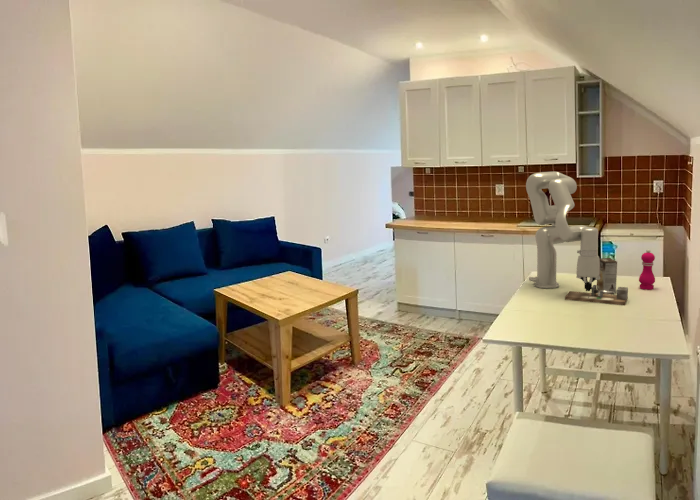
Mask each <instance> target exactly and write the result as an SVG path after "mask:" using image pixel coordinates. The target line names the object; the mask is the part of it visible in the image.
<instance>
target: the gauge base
mask: <svg viewBox="0 0 700 500" xmlns="http://www.w3.org/2000/svg"><path fill="white" fill-rule="evenodd" d="M628 292H629V288H628V286H627V287H625V286H618V287H617V288H616V294H614V295H611V294H603V297H601V298H600V296H598V293H596V294H595V295H594V296H591V292H587V291H584V292H583V291H572V290H569V291H568V293H566V295H565V297H564V300H566V301H574V302H575V301H577V302H585V303H586V302H587V303H597V304H598V303H599V304H606V305H607V304H608V305H619V306H626V304H627V301H628V300H629V295H628Z"/></svg>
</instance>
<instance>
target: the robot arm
mask: <svg viewBox="0 0 700 500" xmlns="http://www.w3.org/2000/svg"><path fill="white" fill-rule="evenodd" d="M577 188H578V187H577V182H576V180H575V179H574V178H573V177H570V176H568V175H566V174H563V173H562V172H559V171H541V172H540V171H539V172H535V173H532V174H531V175H529V176H528V177H527V179H526V183H525V189H526V193H527V194H528V195H527V196H528V198H529V200H530V205H531V209H532V213H533V217H534V218H533V219H534V221H535V223H536V224H537V225H539V226H540V225H541V226H543V227H540V228H538V230H536V232H535V234H534V235H535V241H536V250H537V252H536V253H537V255H536V257H537V258H536V259H537V260H536V261H537V264H536V265H537V266H536V269H537V270H536V271H537V272H536V275H537V276H535V277H534V276H529V278H528V281H530V282H534V283H533V286H534V287H536V288H541V289H556V288H559V286H560V283H559V282H557V256H558V255H557V249H556V248H555V247H554V245H557V244H563V243H571V242H572V243H574V242H580V249H578V250H577V251H576V253H577V254H579V255H578V257H577V262H576V263H577V264H576V271H575V273H576V278H577V279H580V280H581V281H582V282H583V283H584V290H585V292H590V291H591V290H592V286H593V285H592V283H594V282H595V281H597V280H600V279H601V277H600V260H599V259H600V256H599V255H598V247H599V239H598V238H599V230H598V228H597V227H591V226H590V227H589V226H587V225H582V224H580V225H573V226H572V225H570V226H569V224H568V221H567V214H568V212H570V211H571V210H572V209H574V208H575V202H574V200H573V197H572V194H574V193H575V192H576V191H577ZM542 189H548V192H549V194H550V196H551V198H552V201H553V203H554V204H553V205H550V203H549V199H548V196H547V195H546V194H545V192H544V191H543V190H542ZM544 225H549V226H544ZM588 278H589V281H588Z"/></svg>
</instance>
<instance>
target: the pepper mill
mask: <svg viewBox="0 0 700 500" xmlns="http://www.w3.org/2000/svg"><path fill="white" fill-rule="evenodd" d="M640 257H641V261H642V262H641V265H642V271H641V274H640V275H639V277H638V282H639V289H641V290H644V291H652V290H654V288H655V287H654V286H655V285H654V284H655V283H656V276H655V275H654V273H653V266H654V261H655V259H656V256H655V254H654V253H652V252H651V249H649V248H648V249H646V252H644V253H642V255H641V256H640Z"/></svg>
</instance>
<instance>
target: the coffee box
mask: <svg viewBox="0 0 700 500" xmlns="http://www.w3.org/2000/svg"><path fill="white" fill-rule="evenodd" d="M599 260H600V277H601V279H600V280H596V290H604V291H614V294H615V293H616V294H617V278H618V276H617V275H618V260H615V259H612V258H611V257H602V258H600V257H599Z"/></svg>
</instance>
